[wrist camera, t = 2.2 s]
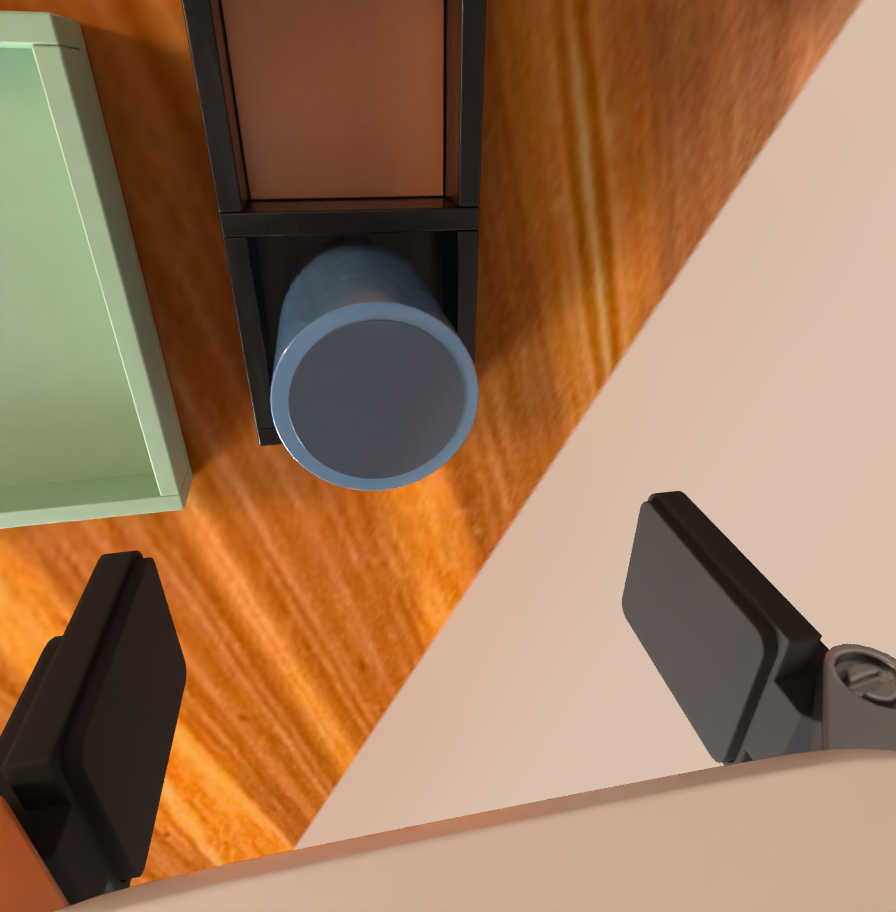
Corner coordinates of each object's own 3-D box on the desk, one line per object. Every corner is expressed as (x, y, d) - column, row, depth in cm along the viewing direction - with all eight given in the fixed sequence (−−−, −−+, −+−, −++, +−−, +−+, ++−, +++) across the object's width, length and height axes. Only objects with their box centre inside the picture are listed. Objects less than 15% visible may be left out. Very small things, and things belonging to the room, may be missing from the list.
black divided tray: (182, -87, 19) (159, -118, 16) (465, -70, 20) (490, -97, 17) (264, 411, 27) (259, 446, 25) (457, 396, 29) (472, 428, 26)
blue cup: (271, 238, 23) (254, 308, 16) (429, 233, 24) (483, 296, 17) (291, 385, 27) (284, 501, 19) (429, 375, 28) (476, 482, 20)
